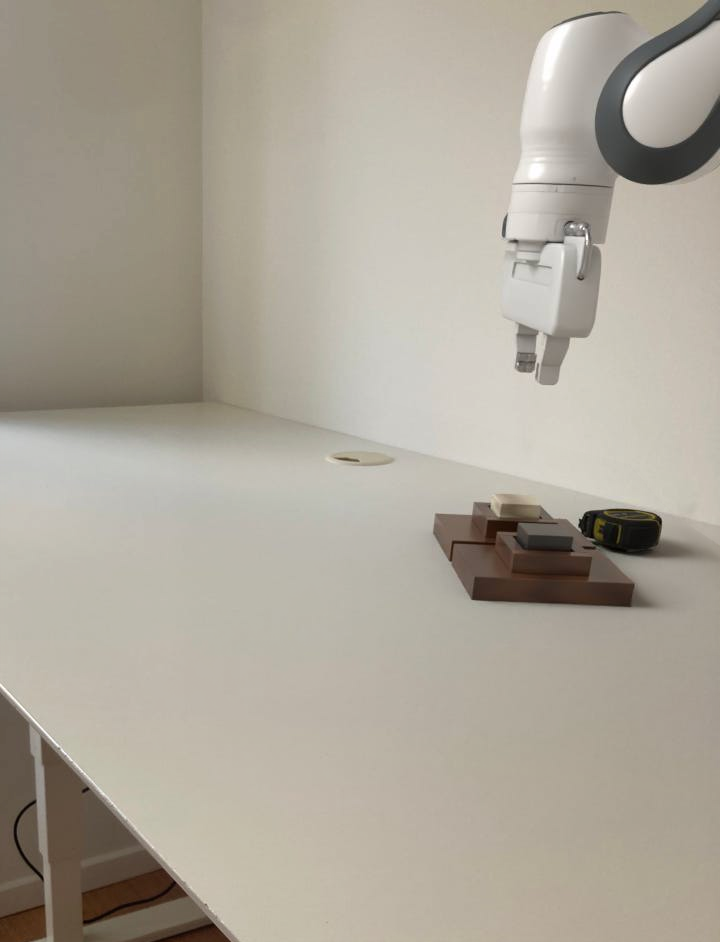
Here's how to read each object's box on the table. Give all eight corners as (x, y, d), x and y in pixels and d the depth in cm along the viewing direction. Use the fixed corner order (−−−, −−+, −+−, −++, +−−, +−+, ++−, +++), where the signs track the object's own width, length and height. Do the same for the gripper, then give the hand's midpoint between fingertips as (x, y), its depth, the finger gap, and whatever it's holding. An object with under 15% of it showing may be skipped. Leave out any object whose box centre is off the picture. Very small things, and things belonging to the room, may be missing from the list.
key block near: (595, 571, 99) (602, 531, 98) (630, 607, 90) (639, 563, 88) (451, 565, 99) (456, 525, 98) (471, 600, 90) (477, 556, 88)
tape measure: (627, 536, 111) (634, 503, 110) (671, 555, 105) (679, 519, 104) (574, 540, 109) (580, 506, 108) (616, 559, 103) (623, 523, 102)
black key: (558, 542, 95) (561, 524, 94) (570, 555, 91) (573, 536, 91) (515, 540, 95) (518, 522, 94) (525, 553, 91) (528, 534, 91)
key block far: (563, 538, 109) (569, 502, 108) (592, 568, 100) (599, 528, 99) (432, 533, 109) (436, 496, 108) (449, 561, 100) (454, 522, 99)
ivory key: (528, 511, 105) (531, 494, 105) (538, 522, 101) (541, 504, 101) (489, 509, 105) (492, 493, 105) (498, 520, 101) (501, 503, 101)
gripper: (631, 223, 83) (601, 396, 89) (561, 223, 102) (539, 365, 107) (553, 220, 83) (528, 392, 89) (498, 220, 102) (479, 362, 107)
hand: (534, 377), depth 98 cm, fingers open, 7 cm apart
